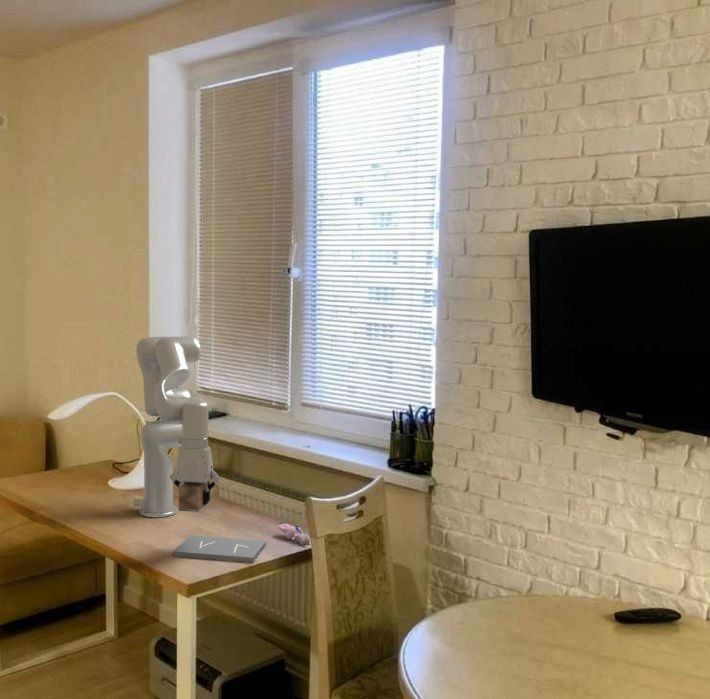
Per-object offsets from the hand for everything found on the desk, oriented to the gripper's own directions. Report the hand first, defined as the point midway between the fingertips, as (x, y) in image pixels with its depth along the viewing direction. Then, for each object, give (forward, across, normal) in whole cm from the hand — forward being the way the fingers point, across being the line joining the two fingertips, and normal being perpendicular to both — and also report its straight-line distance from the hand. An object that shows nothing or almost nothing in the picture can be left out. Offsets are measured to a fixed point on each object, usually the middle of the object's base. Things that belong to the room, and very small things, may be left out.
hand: (195, 502), depth 230 cm
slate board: (+14, +8, 0) cm, 16 cm away
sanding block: (+1, 0, 0) cm, 1 cm away
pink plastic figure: (+15, +27, +15) cm, 34 cm away
